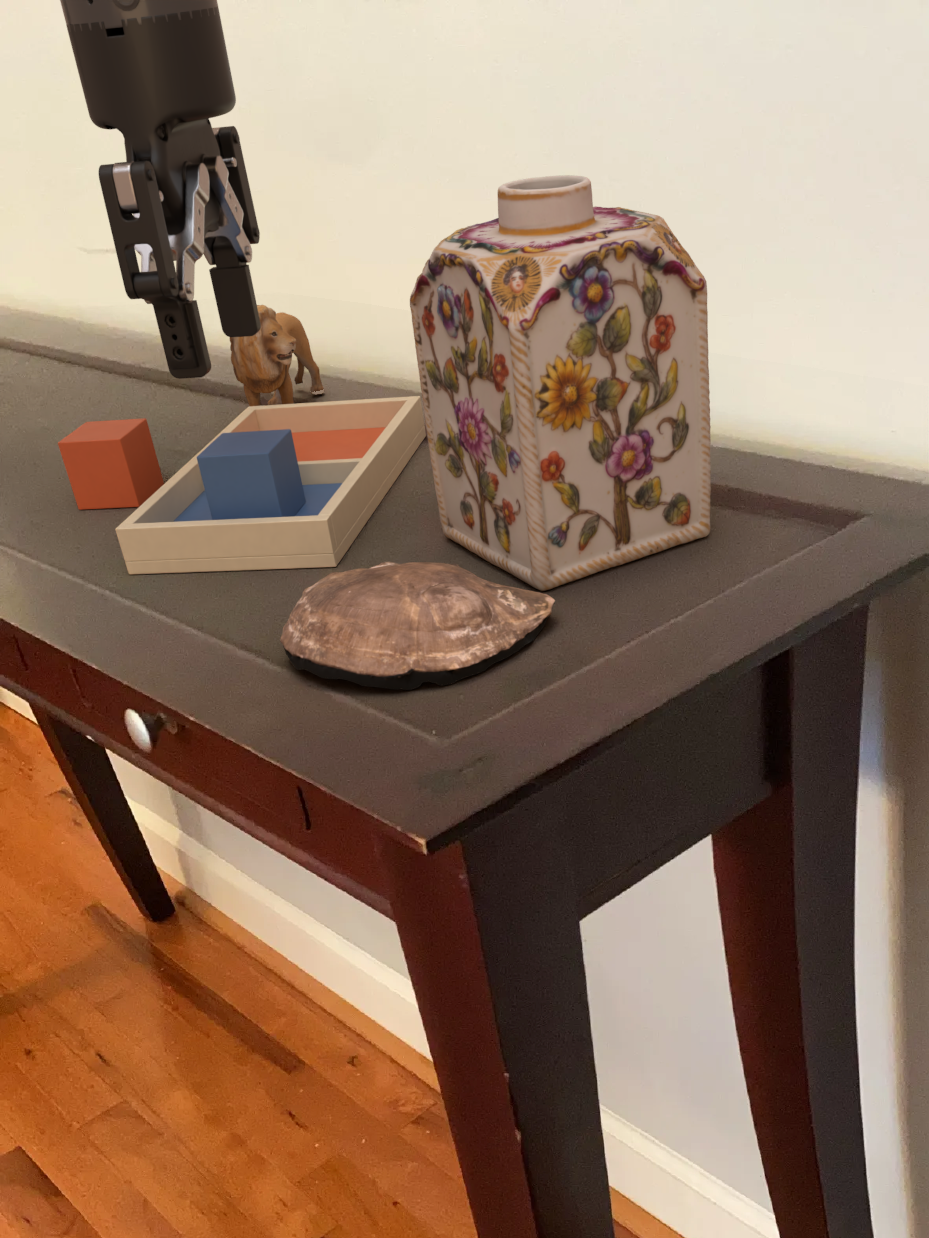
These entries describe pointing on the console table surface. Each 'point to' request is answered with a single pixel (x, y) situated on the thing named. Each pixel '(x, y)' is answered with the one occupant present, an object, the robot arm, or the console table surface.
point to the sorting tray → (332, 482)
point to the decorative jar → (565, 384)
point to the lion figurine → (273, 358)
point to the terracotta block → (111, 464)
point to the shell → (409, 624)
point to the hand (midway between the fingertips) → (218, 355)
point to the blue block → (252, 475)
